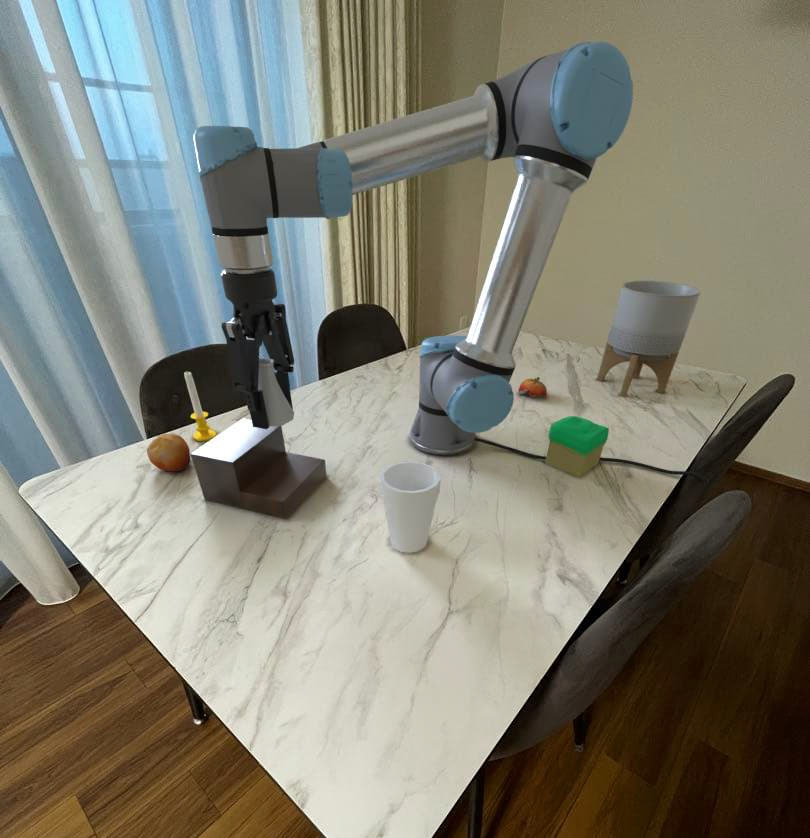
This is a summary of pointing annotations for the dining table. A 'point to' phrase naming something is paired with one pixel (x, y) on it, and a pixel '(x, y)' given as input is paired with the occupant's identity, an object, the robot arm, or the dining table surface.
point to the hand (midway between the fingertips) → (273, 417)
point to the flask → (273, 395)
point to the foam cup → (409, 503)
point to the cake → (575, 444)
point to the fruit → (169, 452)
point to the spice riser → (256, 470)
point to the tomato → (533, 387)
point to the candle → (198, 413)
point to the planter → (648, 329)
